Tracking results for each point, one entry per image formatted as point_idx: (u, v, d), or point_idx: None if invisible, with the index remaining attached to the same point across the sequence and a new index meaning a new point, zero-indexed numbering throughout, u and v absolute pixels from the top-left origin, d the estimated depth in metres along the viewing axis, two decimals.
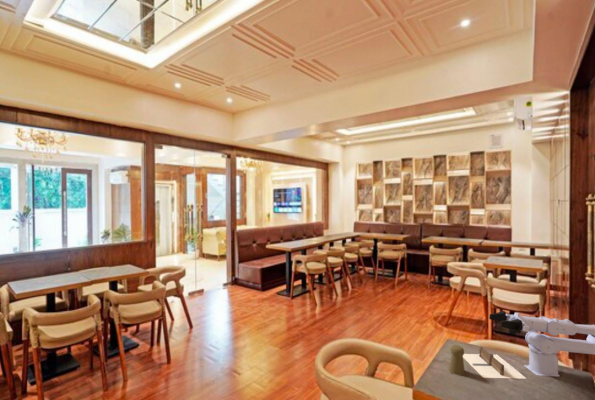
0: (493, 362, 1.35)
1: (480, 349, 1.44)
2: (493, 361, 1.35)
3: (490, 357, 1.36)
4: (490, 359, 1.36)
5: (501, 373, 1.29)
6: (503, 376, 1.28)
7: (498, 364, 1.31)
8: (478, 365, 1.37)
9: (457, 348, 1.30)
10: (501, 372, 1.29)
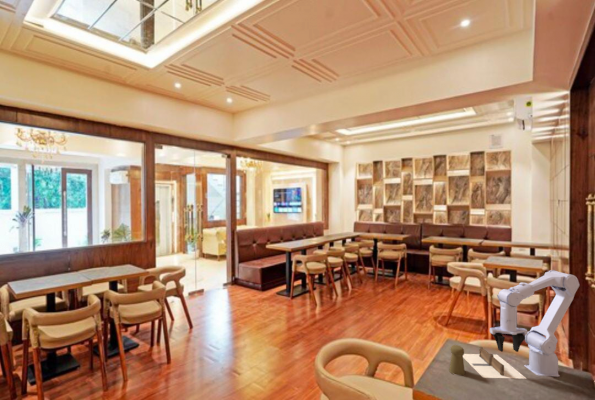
0: (493, 362, 1.35)
1: (480, 349, 1.44)
2: (493, 361, 1.35)
3: (490, 357, 1.36)
4: (490, 359, 1.36)
5: (501, 373, 1.29)
6: (503, 376, 1.28)
7: (498, 364, 1.31)
8: (478, 365, 1.37)
9: (457, 348, 1.30)
10: (501, 372, 1.29)
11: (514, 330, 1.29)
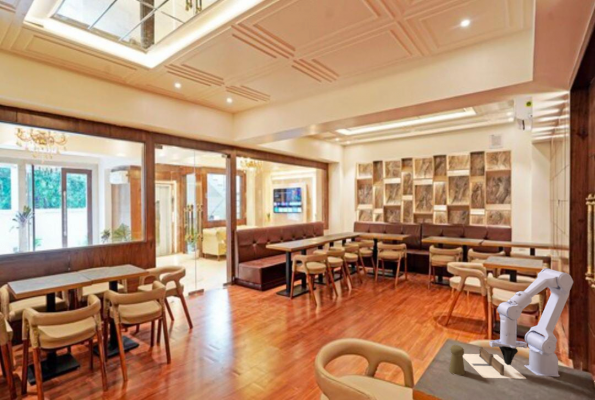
0: (493, 362, 1.35)
1: (480, 349, 1.44)
2: (493, 361, 1.35)
3: (490, 357, 1.36)
4: (490, 359, 1.36)
5: (501, 373, 1.29)
6: (503, 376, 1.28)
7: (498, 364, 1.31)
8: (478, 365, 1.37)
9: (457, 348, 1.30)
10: (501, 372, 1.29)
11: (514, 343, 1.29)
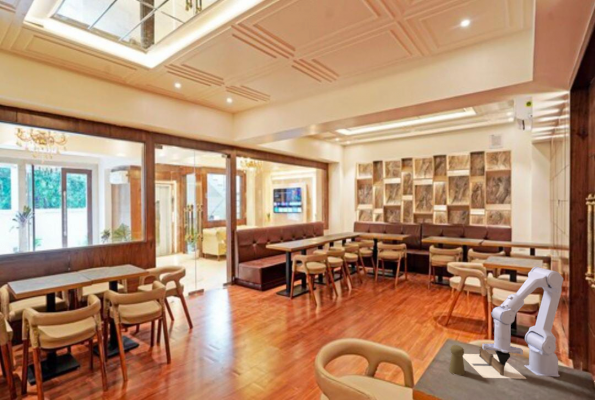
0: (493, 362, 1.35)
1: (480, 349, 1.44)
2: (493, 361, 1.35)
3: (490, 357, 1.36)
4: (490, 359, 1.36)
5: (501, 373, 1.29)
6: (503, 376, 1.28)
7: (498, 364, 1.31)
8: (478, 365, 1.37)
9: (457, 348, 1.30)
10: (501, 372, 1.29)
11: (506, 348, 1.29)
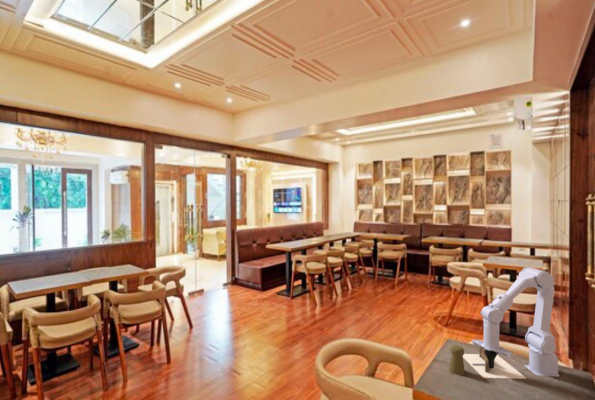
0: None
1: (480, 349, 1.44)
2: None
3: None
4: None
5: (485, 370, 1.31)
6: (503, 376, 1.28)
7: None
8: (478, 365, 1.37)
9: (457, 348, 1.30)
10: (485, 369, 1.31)
11: (490, 347, 1.30)
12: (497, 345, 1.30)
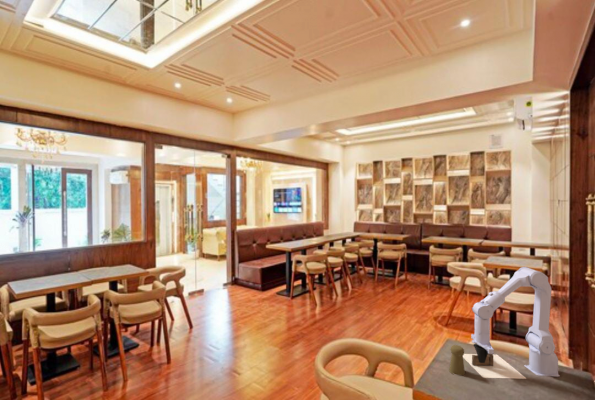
0: None
1: None
2: None
3: (490, 357, 1.36)
4: (490, 359, 1.36)
5: None
6: (503, 376, 1.28)
7: None
8: (478, 365, 1.37)
9: (457, 348, 1.30)
10: None
11: (476, 340, 1.35)
12: (483, 340, 1.33)
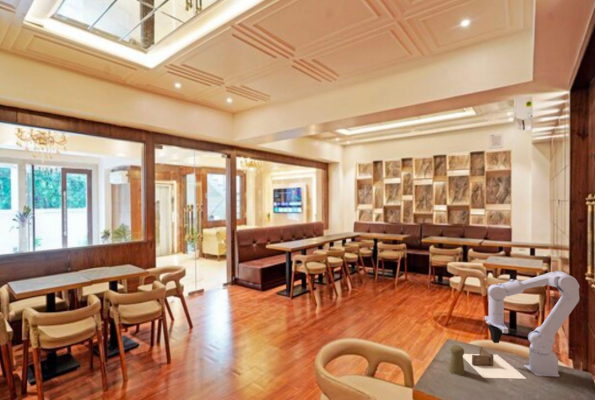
0: None
1: (480, 349, 1.44)
2: None
3: (490, 357, 1.36)
4: (490, 359, 1.36)
5: None
6: (503, 376, 1.28)
7: None
8: (478, 365, 1.37)
9: (457, 348, 1.30)
10: None
11: (490, 321, 1.39)
12: (497, 321, 1.37)
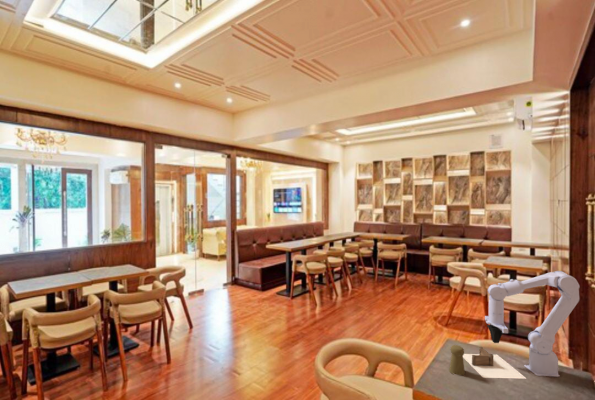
0: None
1: (480, 349, 1.44)
2: None
3: (490, 357, 1.36)
4: (490, 359, 1.36)
5: None
6: (503, 376, 1.28)
7: None
8: (478, 365, 1.37)
9: (457, 348, 1.30)
10: None
11: (490, 321, 1.39)
12: (497, 321, 1.37)
